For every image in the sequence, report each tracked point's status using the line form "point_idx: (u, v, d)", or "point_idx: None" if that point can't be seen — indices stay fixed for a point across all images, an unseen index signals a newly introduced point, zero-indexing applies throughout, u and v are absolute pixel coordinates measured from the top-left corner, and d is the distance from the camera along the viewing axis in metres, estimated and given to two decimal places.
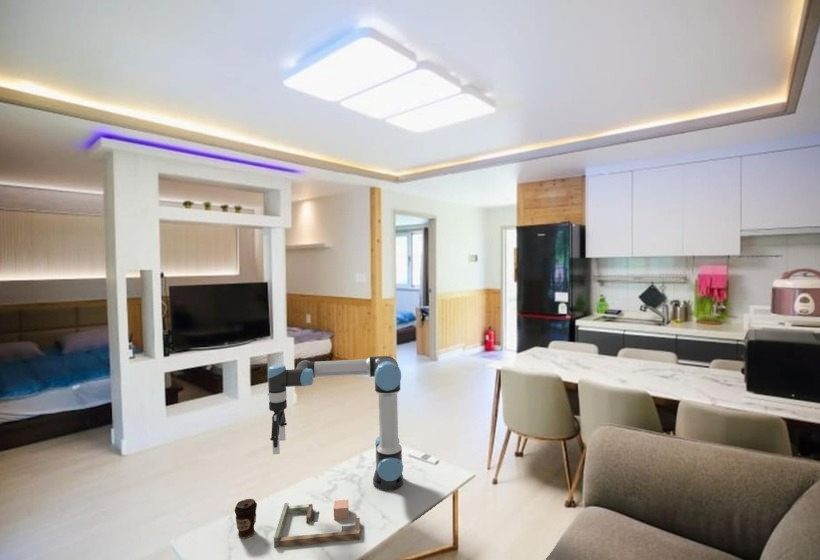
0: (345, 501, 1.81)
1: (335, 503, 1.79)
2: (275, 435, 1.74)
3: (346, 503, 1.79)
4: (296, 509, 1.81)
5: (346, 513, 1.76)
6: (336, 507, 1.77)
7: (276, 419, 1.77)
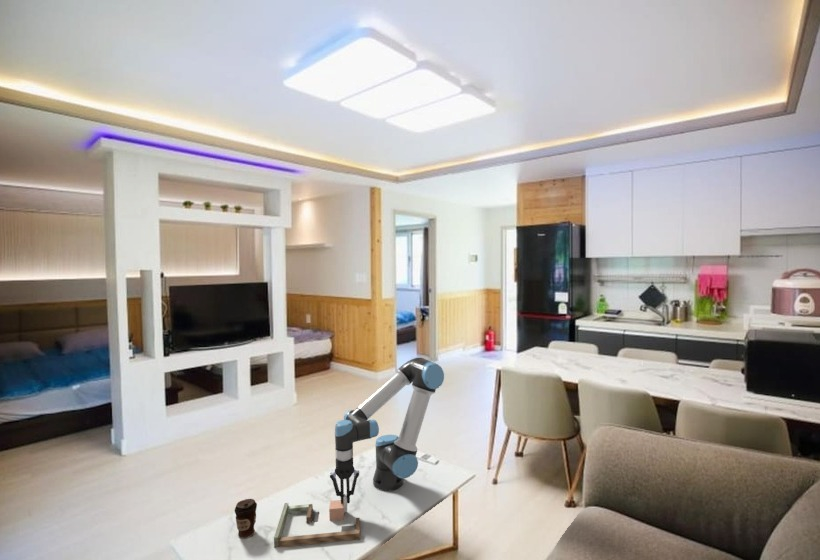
0: None
1: (331, 503, 1.79)
2: (335, 491, 1.78)
3: None
4: (296, 509, 1.81)
5: (342, 513, 1.76)
6: (331, 507, 1.77)
7: None
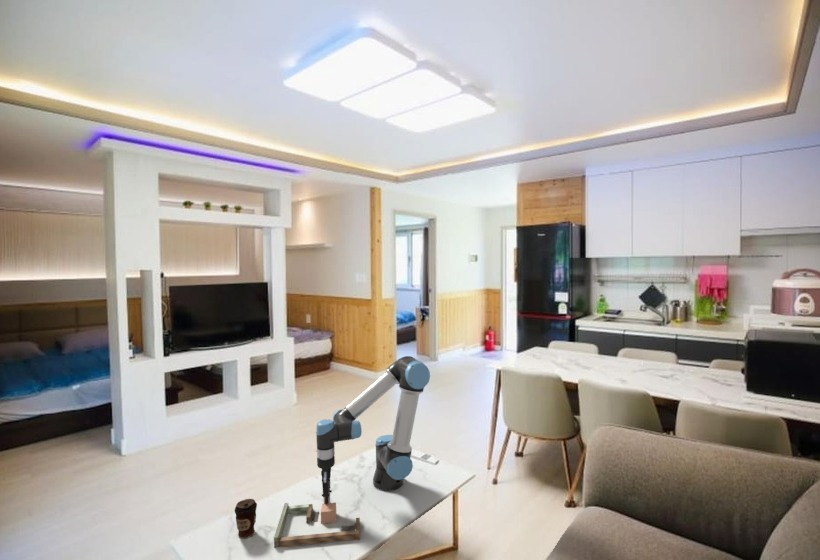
0: (333, 504, 1.78)
1: (322, 506, 1.77)
2: (326, 494, 1.76)
3: (333, 506, 1.77)
4: (296, 509, 1.81)
5: (333, 516, 1.74)
6: (323, 510, 1.75)
7: (326, 482, 1.74)
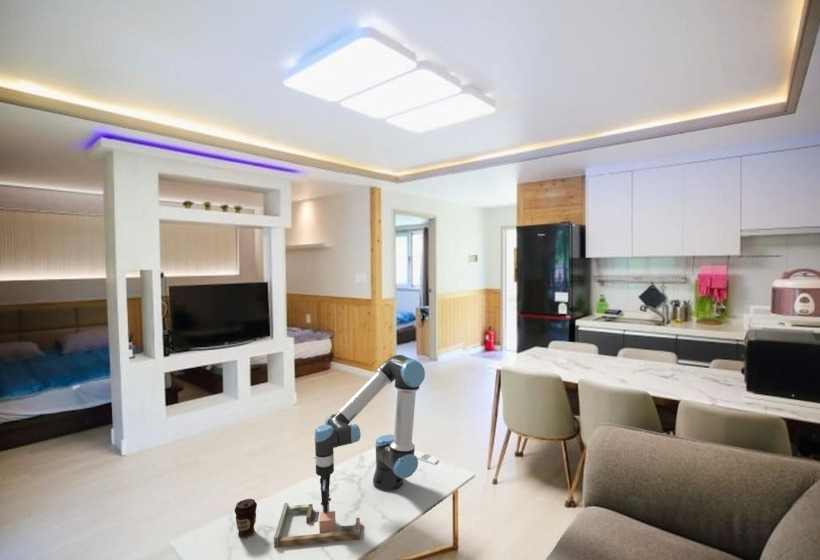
0: (332, 513, 1.72)
1: (321, 515, 1.71)
2: (326, 502, 1.70)
3: (332, 515, 1.71)
4: (296, 509, 1.81)
5: (332, 526, 1.68)
6: (322, 519, 1.69)
7: (325, 490, 1.68)
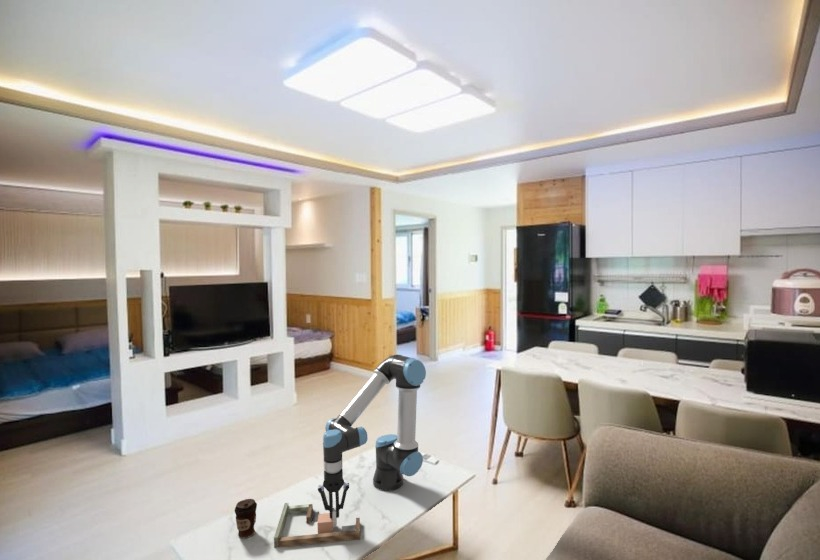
0: None
1: (319, 516, 1.70)
2: None
3: None
4: (296, 509, 1.81)
5: (330, 527, 1.67)
6: (320, 520, 1.67)
7: None
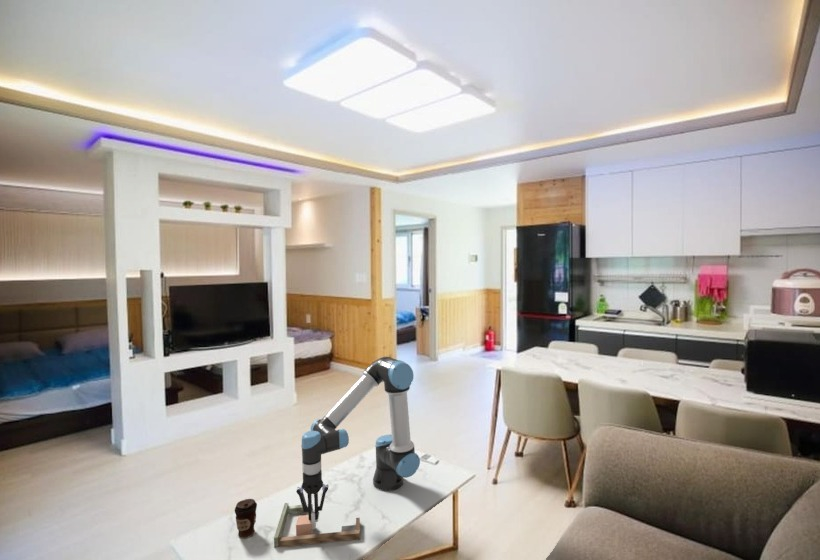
0: None
1: (298, 518, 1.69)
2: None
3: None
4: (296, 509, 1.81)
5: (309, 529, 1.66)
6: (298, 523, 1.66)
7: None
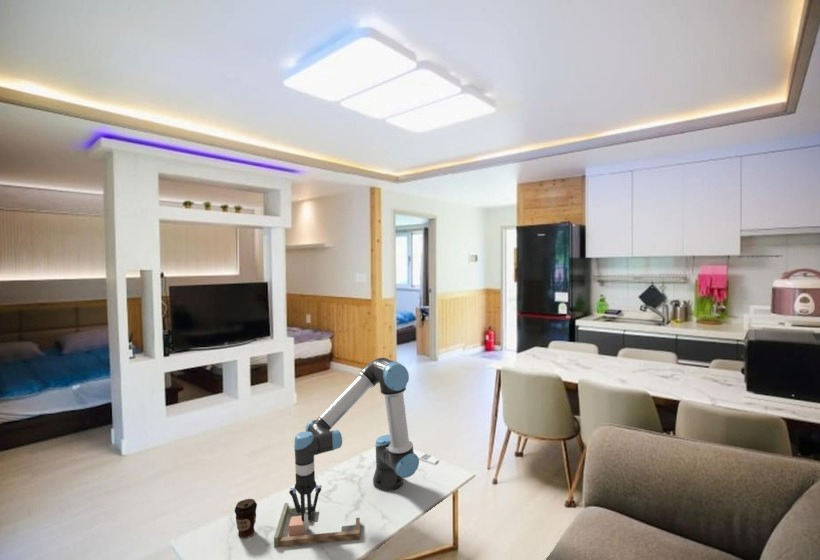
0: None
1: (291, 519, 1.69)
2: None
3: None
4: None
5: (302, 530, 1.66)
6: (291, 523, 1.66)
7: None
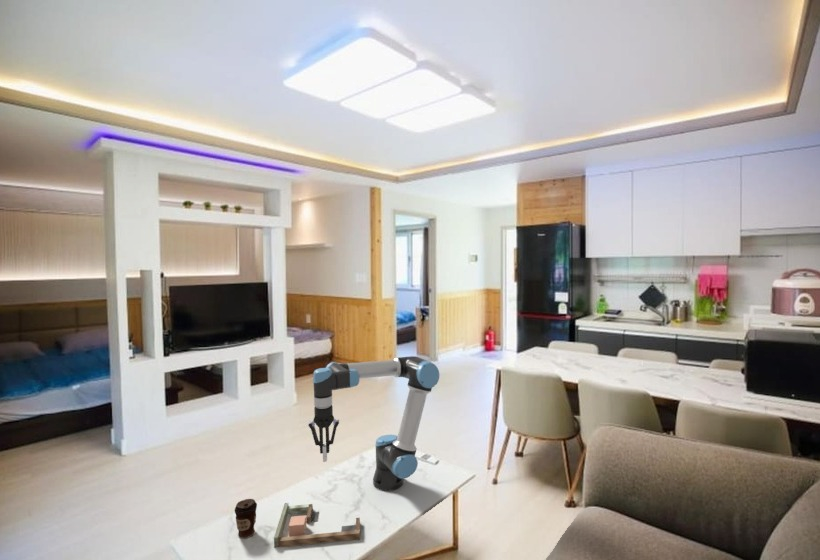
0: (302, 517, 1.70)
1: (291, 519, 1.69)
2: None
3: (303, 519, 1.69)
4: (296, 509, 1.81)
5: (302, 530, 1.66)
6: (291, 523, 1.66)
7: None
